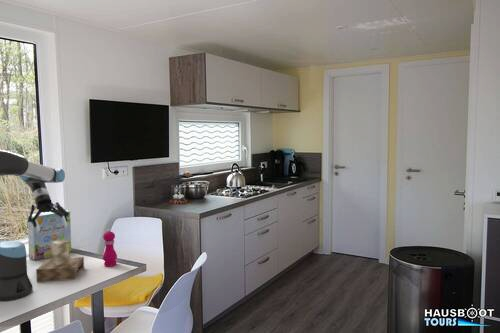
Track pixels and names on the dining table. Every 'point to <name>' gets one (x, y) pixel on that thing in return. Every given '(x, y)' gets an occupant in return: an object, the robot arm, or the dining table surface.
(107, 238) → the pepper mill
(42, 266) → the brown wooden slab
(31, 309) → the dining table surface
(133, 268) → the dining table surface
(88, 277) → the dining table surface
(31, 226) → the snack box
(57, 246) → the birch block
